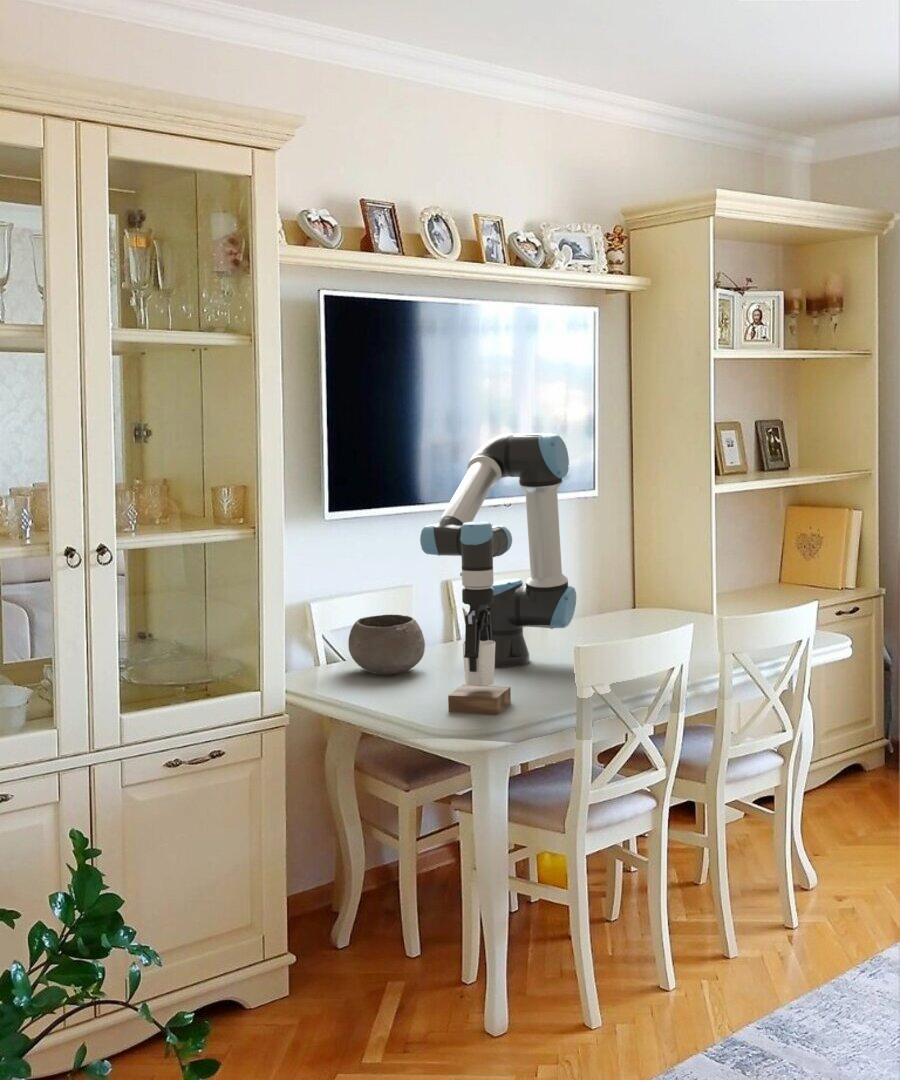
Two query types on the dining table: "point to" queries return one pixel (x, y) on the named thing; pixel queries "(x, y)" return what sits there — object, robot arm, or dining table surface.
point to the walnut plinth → (479, 699)
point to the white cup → (483, 663)
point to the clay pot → (386, 643)
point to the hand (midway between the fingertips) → (479, 680)
